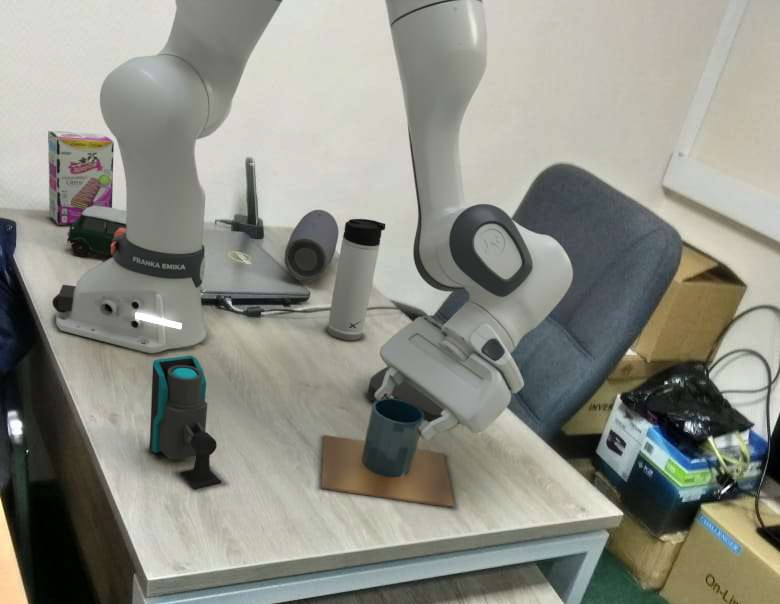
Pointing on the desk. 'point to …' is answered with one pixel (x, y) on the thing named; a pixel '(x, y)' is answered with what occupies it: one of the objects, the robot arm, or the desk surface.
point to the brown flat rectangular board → (352, 476)
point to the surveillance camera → (182, 417)
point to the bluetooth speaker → (312, 245)
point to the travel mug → (354, 278)
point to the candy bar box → (78, 174)
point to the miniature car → (95, 229)
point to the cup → (392, 437)
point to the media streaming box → (406, 395)
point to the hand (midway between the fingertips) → (399, 418)
